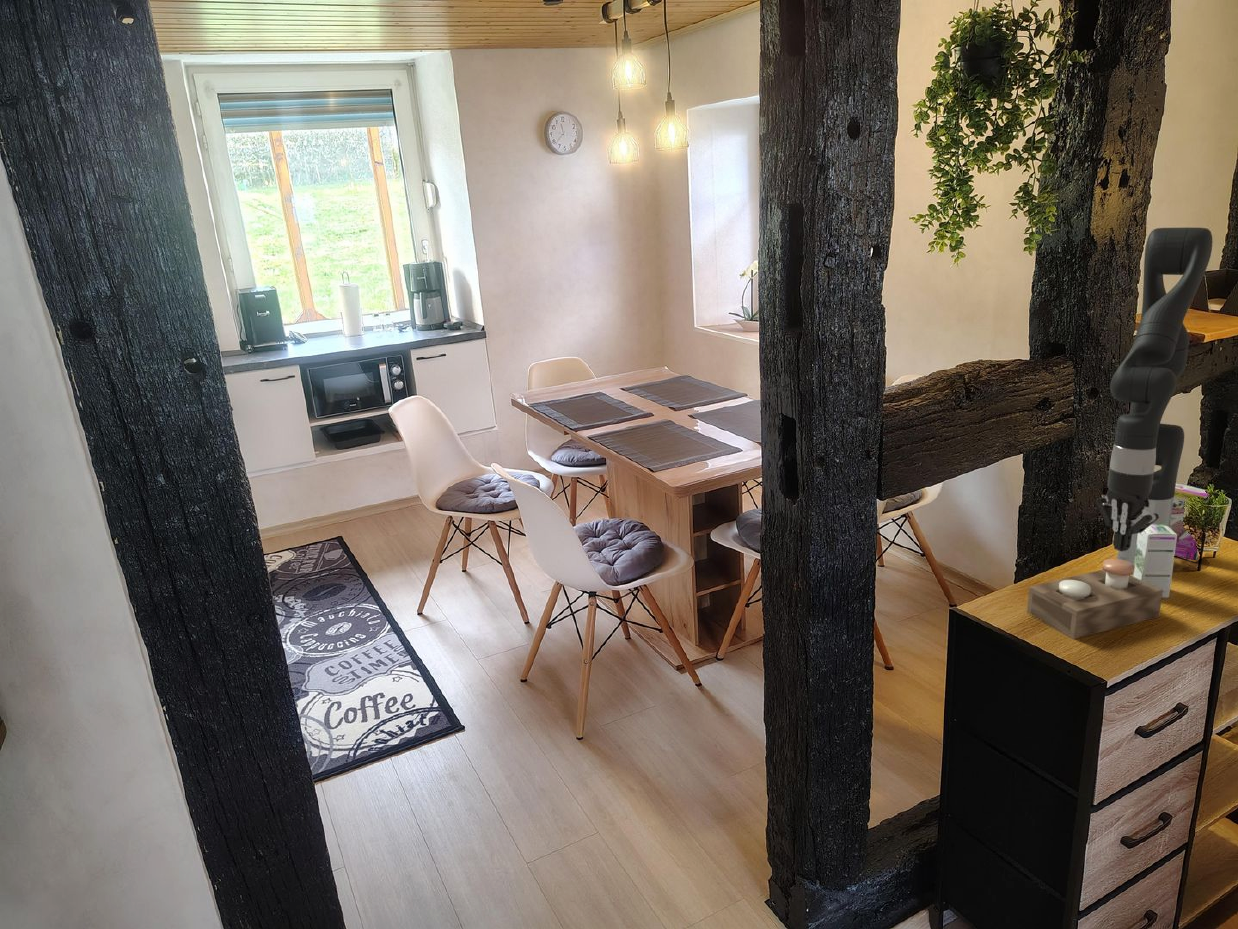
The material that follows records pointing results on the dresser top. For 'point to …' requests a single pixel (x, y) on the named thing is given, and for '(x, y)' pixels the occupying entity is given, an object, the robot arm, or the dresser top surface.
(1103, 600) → the brown wooden block
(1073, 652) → the dresser top surface
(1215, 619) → the dresser top surface
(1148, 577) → the syrup box
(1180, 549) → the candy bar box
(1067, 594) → the cream knob
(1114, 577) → the terracotta knob
